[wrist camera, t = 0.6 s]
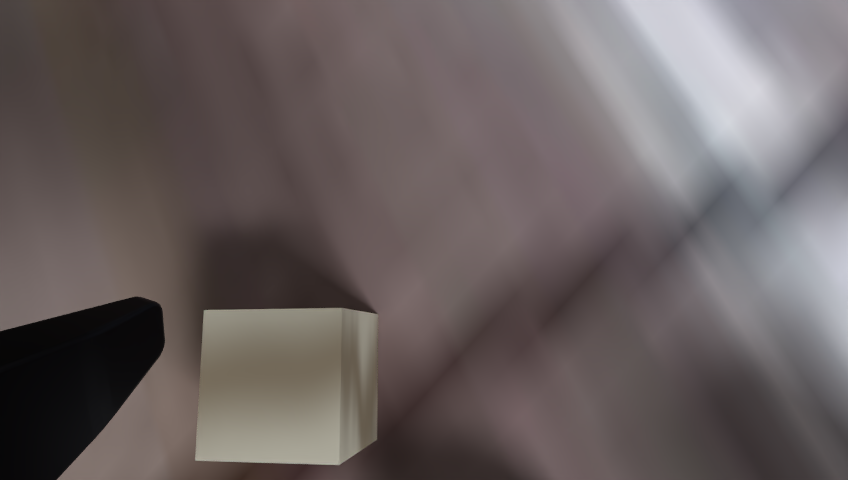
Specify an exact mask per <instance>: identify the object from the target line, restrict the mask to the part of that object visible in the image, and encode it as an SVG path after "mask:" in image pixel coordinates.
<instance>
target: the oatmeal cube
mask: <svg viewBox="0 0 848 480" xmlns="http://www.w3.org/2000/svg"><path fill="white" fill-rule="evenodd" d="M377 394H378V314H374V313H368V312H363V311H357V310H351V309H345V308H305V309H239V310H204V316H203V334H202V351H201V369H200V386H199V404H198V421H197V439H196V456H195V461H226V462H258V463H291V464H323V465H340V464H341V463H343V462H344V461H346V460H347V459H349V458H350V457H352V456H353V455H355V454H356V453H358V452H359V451H361V450H362V449H364V448H365V447H367V446H368V445H370V444H371V443H373V442H374V441H376V440H377Z"/></svg>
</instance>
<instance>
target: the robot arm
mask: <svg viewBox="0 0 848 480" xmlns="http://www.w3.org/2000/svg"><path fill="white" fill-rule="evenodd" d="M164 344H165V336H164V324H163V312H162V308H161V306H160V304H158V303H157V302H155V301H152V300H148V299H145V298H142V297H132V298H128V299H124V300H120V301H116V302H112V303H108V304H104V305H101V306H97V307H93V308H89V309H85V310H81V311H77V312H73V313H70V314H66V315H62V316H58V317H54V318H50V319H46V320H42V321H38V322H35V323H31V324H27V325H23V326H19V327H15V328H11V329H7V330H3V331H0V480H57V479H58V478H59V476H60V475H61V474H62V473H63V472H64V471H65V470H66V469H67V468H68V467H69V466H70V465H71V464H72V462H73V461H74V460H75V459H76V458H77V457H78V456H79V455H80V454H81V453H82V452H83V451H84V450H85V449H86V447H87V446H88V445H89V444H90V443H91V442H92V441H93V440H94V439H95V438H96V437H97V435H98V434H99V433H100V432H101V431H102V430H103V429H104V428H105V426H106V425H107V424H108V423H109V421H110V420H111V419H112V418H113V416H114V415H115V414H116V413H117V411H118V410H119V409H120V407H121V406H122V405H123V403H124V402H125V401H126V400H127V398H128V397H129V396H130V394H131V393H132V392H133V390H134V389H135V388H136V386H137V385H138V384H139V383H140V381H141V380H142V379H143V377H144V376H145V375H146V373H147V372H148V371H149V370H150V368H151V367H152V366H153V364H154V363H155V362H156V360H157V359H158V358H159V356H160V355H161V353H162V351H163V348H164Z"/></svg>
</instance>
